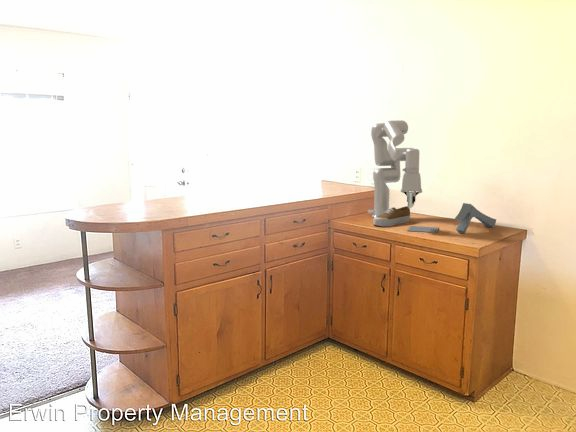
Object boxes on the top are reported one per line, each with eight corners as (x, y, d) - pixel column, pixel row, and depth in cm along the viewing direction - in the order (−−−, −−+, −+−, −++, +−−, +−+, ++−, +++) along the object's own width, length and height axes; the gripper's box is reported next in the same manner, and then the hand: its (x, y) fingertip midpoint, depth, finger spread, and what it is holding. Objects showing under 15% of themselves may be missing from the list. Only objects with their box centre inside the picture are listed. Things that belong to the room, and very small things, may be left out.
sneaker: (368, 225, 295) (368, 209, 293) (402, 219, 311) (402, 204, 309) (380, 228, 287) (380, 211, 285) (414, 221, 303) (414, 206, 301)
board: (407, 208, 274) (408, 193, 273) (411, 204, 285) (411, 191, 283) (410, 208, 273) (411, 194, 272) (414, 205, 284) (414, 191, 283)
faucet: (478, 244, 285) (450, 228, 267) (487, 217, 286) (459, 200, 269) (487, 246, 280) (459, 230, 262) (496, 219, 281) (469, 201, 264)
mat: (407, 231, 277) (407, 230, 277) (410, 226, 289) (410, 225, 289) (437, 232, 271) (437, 232, 271) (438, 228, 283) (438, 227, 283)
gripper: (396, 171, 275) (395, 203, 278) (425, 171, 269) (424, 204, 272) (399, 170, 282) (398, 201, 285) (427, 170, 276) (426, 202, 279)
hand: (411, 203), depth 279 cm, fingers closed on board, 1 cm apart
